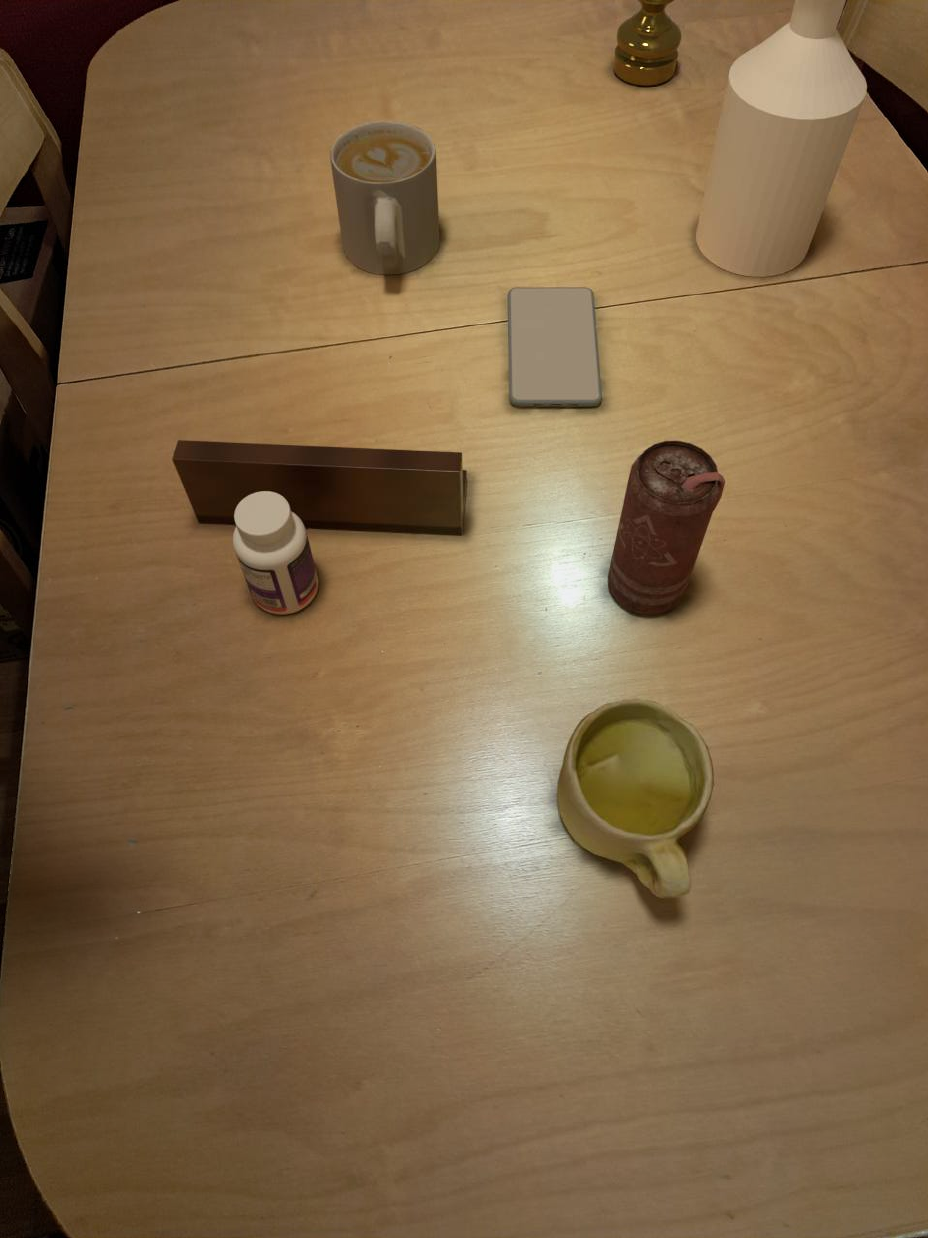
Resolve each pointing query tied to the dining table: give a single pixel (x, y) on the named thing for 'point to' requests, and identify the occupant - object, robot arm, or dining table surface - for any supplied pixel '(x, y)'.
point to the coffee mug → (386, 196)
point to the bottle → (780, 144)
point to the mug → (636, 789)
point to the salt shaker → (647, 45)
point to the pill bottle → (274, 553)
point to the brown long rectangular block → (328, 484)
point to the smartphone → (553, 347)
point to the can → (663, 525)
